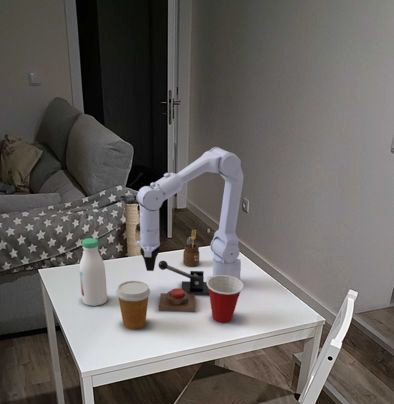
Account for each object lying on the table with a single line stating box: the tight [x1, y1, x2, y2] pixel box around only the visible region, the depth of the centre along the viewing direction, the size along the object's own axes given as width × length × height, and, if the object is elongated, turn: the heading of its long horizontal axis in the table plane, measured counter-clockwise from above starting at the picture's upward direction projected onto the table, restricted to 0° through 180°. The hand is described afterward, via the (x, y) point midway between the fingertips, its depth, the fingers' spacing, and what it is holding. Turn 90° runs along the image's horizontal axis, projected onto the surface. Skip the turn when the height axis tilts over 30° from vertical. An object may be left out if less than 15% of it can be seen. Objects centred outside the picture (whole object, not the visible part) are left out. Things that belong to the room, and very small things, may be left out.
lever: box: [157, 260, 200, 279], centre depth 161 cm, size 15×3×3 cm, turn 90°
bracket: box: [180, 270, 210, 297], centre depth 163 cm, size 10×8×6 cm
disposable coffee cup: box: [115, 280, 151, 331], centre depth 140 cm, size 10×10×12 cm
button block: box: [158, 290, 196, 313], centre depth 154 cm, size 11×9×4 cm
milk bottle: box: [79, 237, 108, 307], centre depth 150 cm, size 8×8×20 cm
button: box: [170, 287, 184, 298], centre depth 153 cm, size 4×4×2 cm
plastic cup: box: [206, 275, 245, 324], centre depth 145 cm, size 11×11×12 cm
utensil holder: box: [182, 229, 200, 267], centre depth 180 cm, size 6×6×12 cm
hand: (150, 270), depth 154 cm, fingers closed
